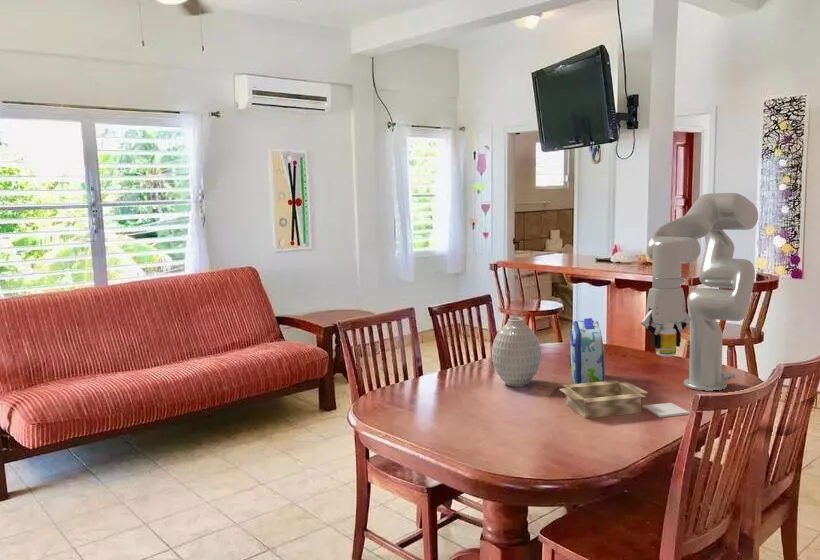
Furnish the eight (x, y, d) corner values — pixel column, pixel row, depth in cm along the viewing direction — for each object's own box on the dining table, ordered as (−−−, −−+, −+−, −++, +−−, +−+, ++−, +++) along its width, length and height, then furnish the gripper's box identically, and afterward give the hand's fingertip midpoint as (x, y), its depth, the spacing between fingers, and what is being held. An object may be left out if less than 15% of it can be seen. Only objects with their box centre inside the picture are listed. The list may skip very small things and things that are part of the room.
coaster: (670, 404, 199) (671, 402, 199) (689, 414, 190) (689, 412, 190) (643, 407, 197) (643, 405, 197) (660, 417, 188) (660, 415, 188)
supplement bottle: (652, 353, 193) (652, 320, 192) (667, 351, 195) (667, 318, 194) (664, 357, 188) (665, 324, 187) (680, 355, 190) (680, 322, 189)
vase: (486, 388, 222) (485, 322, 219) (499, 375, 236) (498, 313, 233) (535, 392, 215) (534, 324, 213) (545, 378, 230) (544, 315, 227)
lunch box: (569, 372, 237) (568, 314, 234) (600, 373, 235) (600, 314, 232) (571, 395, 212) (571, 329, 209) (607, 396, 209) (607, 330, 207)
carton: (622, 396, 208) (623, 379, 207) (653, 414, 191) (653, 395, 190) (555, 403, 204) (555, 385, 203) (580, 422, 187) (580, 402, 186)
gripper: (686, 279, 194) (685, 341, 197) (631, 284, 191) (631, 346, 194) (702, 283, 187) (701, 346, 189) (645, 287, 184) (645, 352, 186)
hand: (666, 345), depth 191 cm, fingers closed on supplement bottle, 5 cm apart
